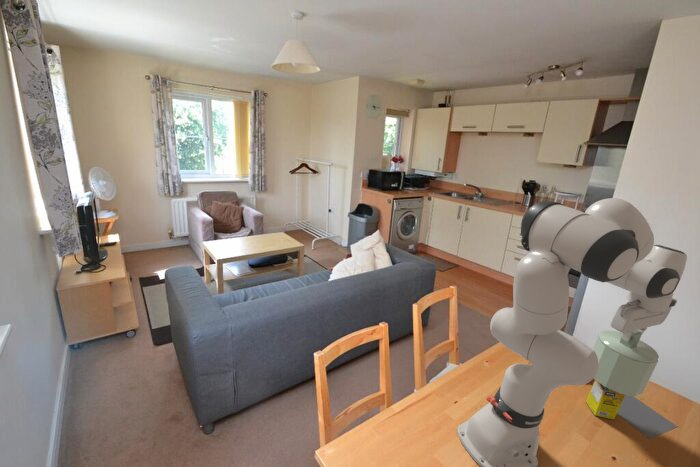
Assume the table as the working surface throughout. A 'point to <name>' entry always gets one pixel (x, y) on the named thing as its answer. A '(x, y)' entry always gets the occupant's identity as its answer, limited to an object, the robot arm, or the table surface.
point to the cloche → (624, 362)
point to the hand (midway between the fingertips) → (630, 338)
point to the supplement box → (604, 401)
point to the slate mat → (643, 417)
